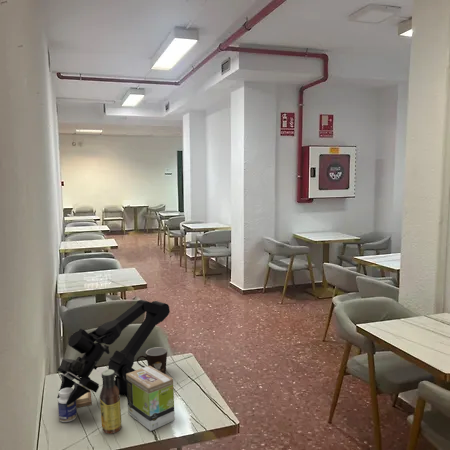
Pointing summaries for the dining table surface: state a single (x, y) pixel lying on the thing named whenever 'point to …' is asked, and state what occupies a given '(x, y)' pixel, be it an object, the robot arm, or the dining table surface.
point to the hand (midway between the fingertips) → (62, 401)
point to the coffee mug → (156, 358)
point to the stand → (84, 400)
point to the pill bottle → (66, 406)
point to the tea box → (150, 397)
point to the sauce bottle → (110, 403)
